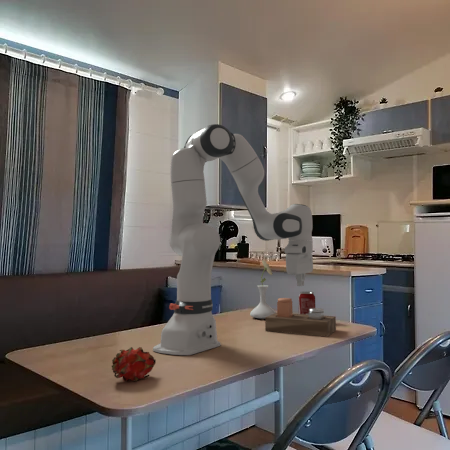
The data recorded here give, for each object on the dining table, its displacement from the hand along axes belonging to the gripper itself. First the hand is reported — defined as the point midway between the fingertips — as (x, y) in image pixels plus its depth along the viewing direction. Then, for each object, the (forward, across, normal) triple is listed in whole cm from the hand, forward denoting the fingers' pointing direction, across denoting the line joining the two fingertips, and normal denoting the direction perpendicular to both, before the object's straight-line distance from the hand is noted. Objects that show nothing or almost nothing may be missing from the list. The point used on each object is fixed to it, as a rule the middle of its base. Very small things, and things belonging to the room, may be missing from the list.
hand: (300, 285), depth 164 cm
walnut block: (+16, -1, 0) cm, 16 cm away
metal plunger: (+15, -1, +6) cm, 16 cm away
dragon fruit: (+18, +72, -18) cm, 76 cm away
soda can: (+16, -19, -4) cm, 25 cm away
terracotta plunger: (+12, -1, -6) cm, 14 cm away
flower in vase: (+17, -20, -24) cm, 35 cm away
